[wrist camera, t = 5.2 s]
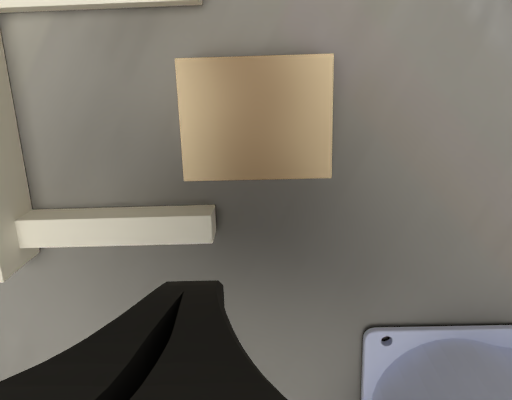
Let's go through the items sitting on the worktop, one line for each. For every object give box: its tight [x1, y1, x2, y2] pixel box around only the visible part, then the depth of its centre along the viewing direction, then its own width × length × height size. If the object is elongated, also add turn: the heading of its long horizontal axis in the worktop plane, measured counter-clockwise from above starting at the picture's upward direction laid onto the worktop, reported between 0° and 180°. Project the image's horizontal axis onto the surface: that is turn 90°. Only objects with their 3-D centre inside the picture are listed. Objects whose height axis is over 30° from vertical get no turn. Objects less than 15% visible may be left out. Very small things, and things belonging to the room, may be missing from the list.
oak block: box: [175, 54, 334, 181], centre depth 17 cm, size 5×4×4 cm
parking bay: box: [0, 0, 216, 282], centre depth 18 cm, size 9×12×3 cm
